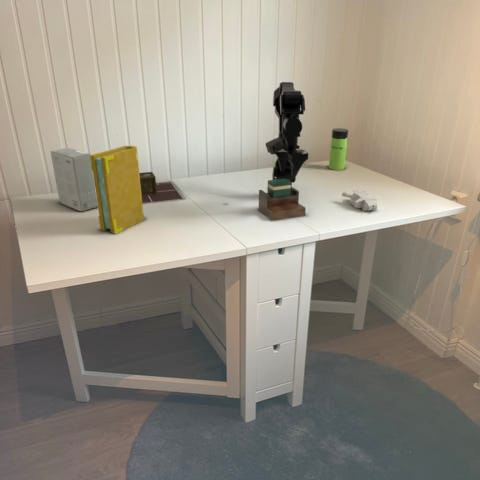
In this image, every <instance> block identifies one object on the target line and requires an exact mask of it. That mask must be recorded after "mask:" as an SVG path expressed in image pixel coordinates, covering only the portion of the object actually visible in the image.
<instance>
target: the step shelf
mask: <svg viewBox="0 0 480 480" xmlns="http://www.w3.org/2000/svg"><path fill="white" fill-rule="evenodd" d="M299 199H300V190H298V189H296V188H294V187H293V186H292V187H291V192H290V195H289V196H282V197H274V198H273V197H272V196H270V195H269V194H267V192H266V191H264V190H262V189H258V211H260V212H261V213H262V214H264V215H265V216H266V217H268V218H270V220H272V221H280V220H285V219H291V218H299V217H305V216H306V210H307V209H306V207H305V206H304V205H302V204H300V202H299Z"/></svg>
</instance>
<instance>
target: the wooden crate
mask: <svg viewBox="0 0 480 480" xmlns="http://www.w3.org/2000/svg"><path fill="white" fill-rule="evenodd" d="M139 175H140V184H141V194H142V197H144V196H154V195H157V194H158V189H157V183H158V182H157V179H156V177H157V176H156V175H155V174H154V172H153V171H146V172H139Z"/></svg>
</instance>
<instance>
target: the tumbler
mask: <svg viewBox="0 0 480 480" xmlns="http://www.w3.org/2000/svg"><path fill="white" fill-rule="evenodd" d="M348 137H349V129H347V128H342V127H341V128H340V127H336V128H332V129H331V139H330V149H329V150H330V151H329V160H328V161H329V162H328V169H330V170H333V171H342V170H344V169H345V167H346V166H345V165H346V156H347V147H348V146H347V145H348Z"/></svg>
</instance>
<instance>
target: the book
mask: <svg viewBox="0 0 480 480" xmlns="http://www.w3.org/2000/svg"><path fill="white" fill-rule="evenodd" d="M138 155H139V154H138V147H137V146H136V145H123V146H118V147H116V148H112V149H108V150H105V151H101V152H96V153H93V154H90V162H91V168H92V172H93V178H94V185H95V192H96V198H97V206H98V207H97V209H98V221H99V228H100V231H103V232H106V231H108V230H110V234H113V235H115V234H118V233H120V232H123V231H124V230H126V229H127V228H129V227H132V226H133V225H136V224H139V223H141V222H143V221H144V220H145V215H144V205H143V204H144V203H142V194H141V184H140V175H139V173H140V165H139V156H138Z"/></svg>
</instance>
